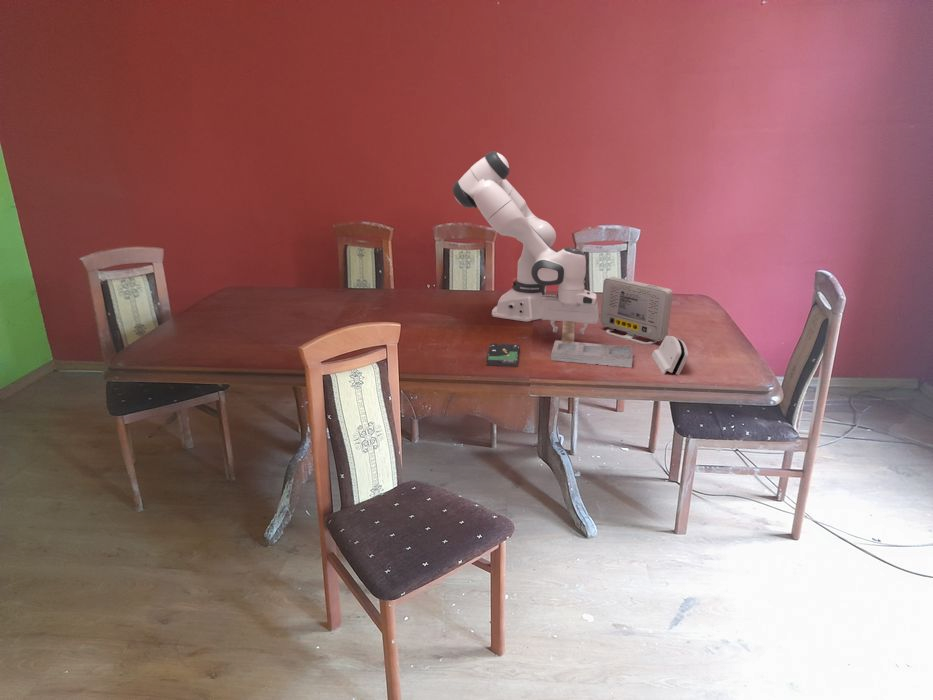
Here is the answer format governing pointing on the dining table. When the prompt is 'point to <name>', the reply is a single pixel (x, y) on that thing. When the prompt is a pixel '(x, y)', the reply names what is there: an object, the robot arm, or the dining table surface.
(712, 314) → the dining table surface
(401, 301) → the dining table surface
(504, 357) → the disk drive
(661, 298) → the network device
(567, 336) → the maple block
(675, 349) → the white rounded block
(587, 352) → the grey flat frame
